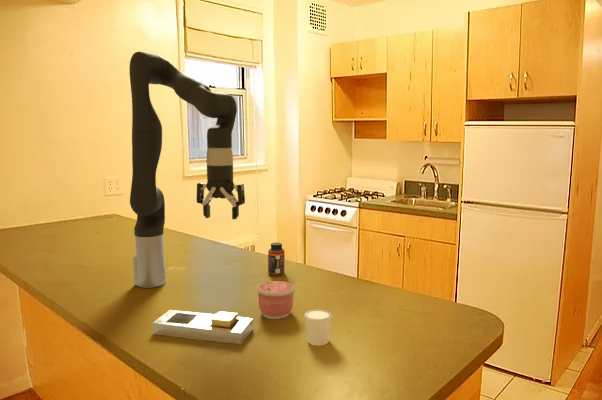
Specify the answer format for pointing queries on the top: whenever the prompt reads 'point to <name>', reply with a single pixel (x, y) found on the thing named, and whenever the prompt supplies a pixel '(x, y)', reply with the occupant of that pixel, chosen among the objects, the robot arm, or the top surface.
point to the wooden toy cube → (224, 320)
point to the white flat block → (200, 327)
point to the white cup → (318, 326)
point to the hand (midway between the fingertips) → (221, 218)
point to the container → (275, 299)
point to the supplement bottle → (276, 259)
